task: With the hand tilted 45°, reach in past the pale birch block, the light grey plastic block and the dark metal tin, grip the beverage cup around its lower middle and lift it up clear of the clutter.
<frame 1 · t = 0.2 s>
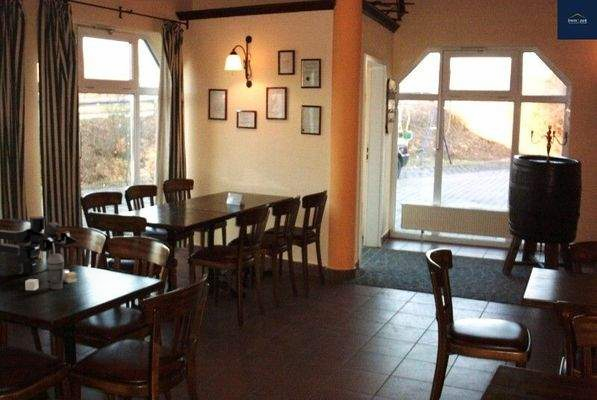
hand: (70, 243, 298), 17 cm above the table, tool horizontal, fingers open, 9 cm apart
beverage cup: (56, 288, 285), on the table
metal tin: (62, 279, 300), on the table
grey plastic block: (32, 289, 283), on the table
birch block: (70, 281, 296), on the table
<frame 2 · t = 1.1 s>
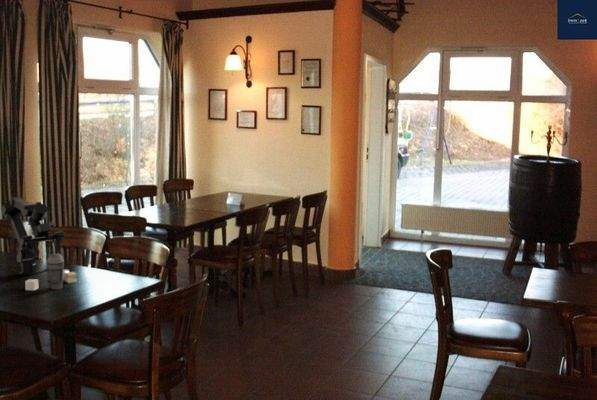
hand: (48, 254, 289), 14 cm above the table, tool tilted 45°, fingers open, 9 cm apart
nothing on the table moved.
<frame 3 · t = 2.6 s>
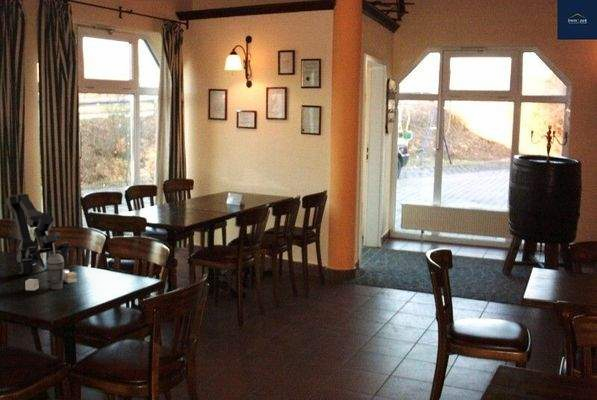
hand: (54, 265, 285), 10 cm above the table, tool tilted 45°, fingers open, 9 cm apart
nothing on the table moved.
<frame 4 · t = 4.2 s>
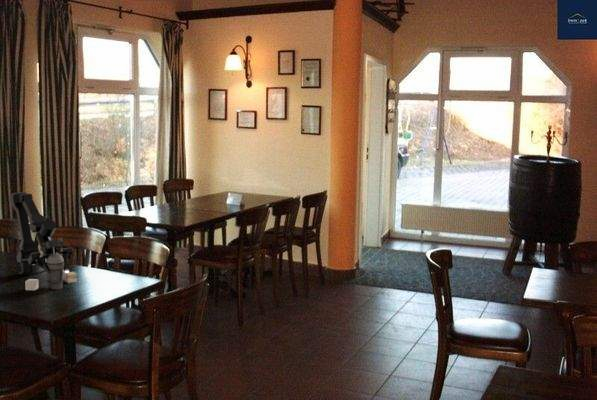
hand: (57, 271, 283), 8 cm above the table, tool tilted 45°, fingers closed on beverage cup, 7 cm apart
beverage cup: (56, 288, 285), on the table, touching gripper
everything else where it was.
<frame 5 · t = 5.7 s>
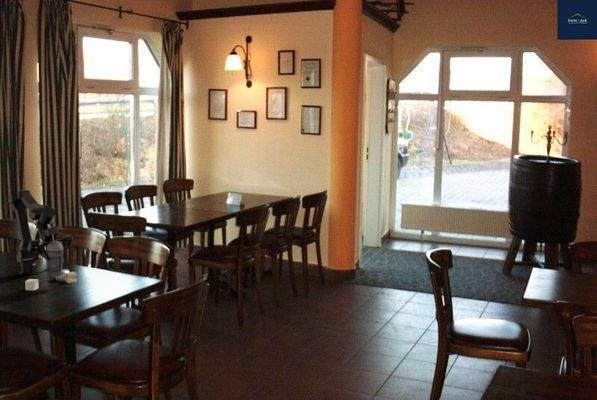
hand: (56, 259, 283), 13 cm above the table, tool tilted 45°, fingers closed on beverage cup, 7 cm apart
beverage cup: (56, 276, 285), point 5 cm above the table, touching gripper
everything else where it was.
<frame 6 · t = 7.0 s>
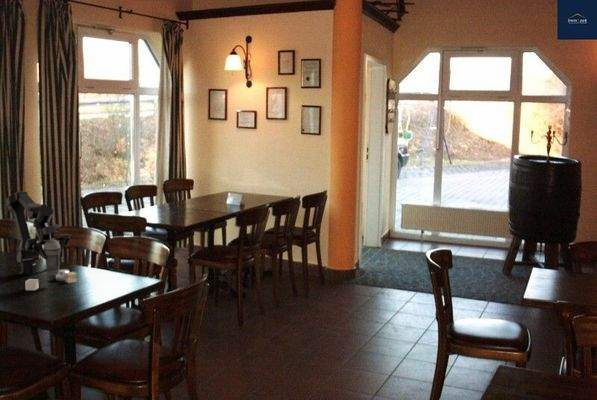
hand: (53, 257, 285), 13 cm above the table, tool tilted 45°, fingers closed on beverage cup, 7 cm apart
beverage cup: (53, 274, 287), point 6 cm above the table, touching gripper
everything else where it was.
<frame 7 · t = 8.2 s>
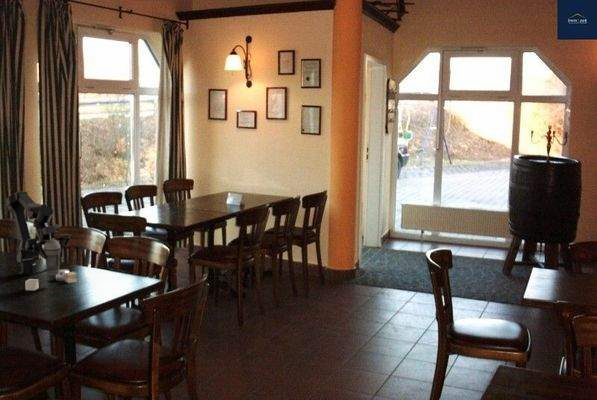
hand: (53, 257, 285), 13 cm above the table, tool tilted 45°, fingers closed on beverage cup, 7 cm apart
beverage cup: (53, 274, 287), point 6 cm above the table, touching gripper
everything else where it was.
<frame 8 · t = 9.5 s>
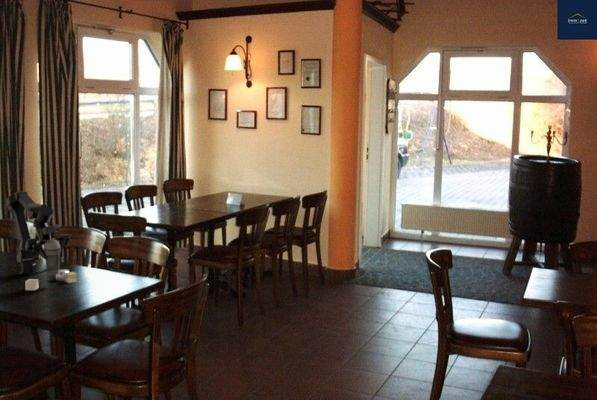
hand: (53, 257, 285), 13 cm above the table, tool tilted 45°, fingers closed on beverage cup, 7 cm apart
beverage cup: (53, 274, 287), point 6 cm above the table, touching gripper
everything else where it was.
at the end: the gripper is holding beverage cup; beverage cup point 5.5 cm above the table; beverage cup tilted 1° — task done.
